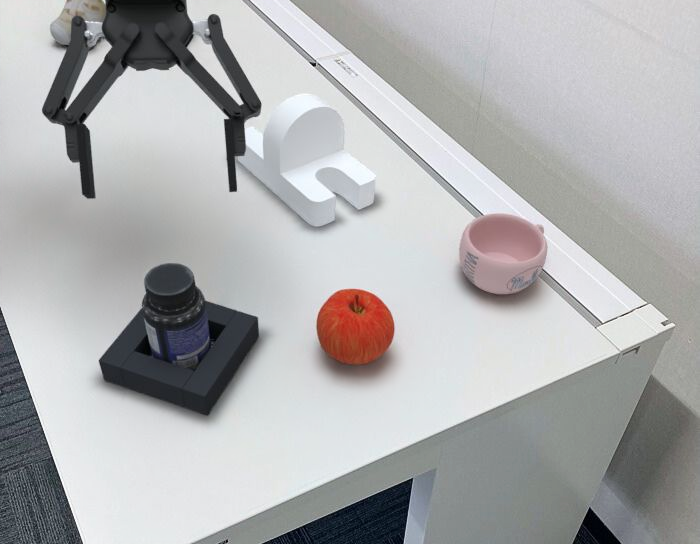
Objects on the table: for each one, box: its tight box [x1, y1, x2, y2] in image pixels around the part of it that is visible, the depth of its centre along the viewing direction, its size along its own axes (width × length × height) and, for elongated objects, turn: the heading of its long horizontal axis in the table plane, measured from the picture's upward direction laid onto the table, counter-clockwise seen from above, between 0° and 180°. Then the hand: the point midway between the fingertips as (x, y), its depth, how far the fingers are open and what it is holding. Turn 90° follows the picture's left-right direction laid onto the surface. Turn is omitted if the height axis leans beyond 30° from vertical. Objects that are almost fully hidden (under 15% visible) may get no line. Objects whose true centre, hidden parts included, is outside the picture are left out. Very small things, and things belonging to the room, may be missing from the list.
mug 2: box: [458, 212, 548, 295], centre depth 90 cm, size 12×10×6 cm
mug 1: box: [49, 0, 106, 50], centre depth 126 cm, size 8×10×10 cm
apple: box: [315, 288, 396, 365], centre depth 80 cm, size 8×8×8 cm
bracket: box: [237, 92, 377, 228], centre depth 99 cm, size 19×10×11 cm, turn 38°
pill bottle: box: [141, 262, 212, 371], centre depth 77 cm, size 6×6×11 cm
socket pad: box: [98, 300, 260, 416], centre depth 80 cm, size 12×12×3 cm
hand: (162, 193), depth 74 cm, fingers open, 13 cm apart
